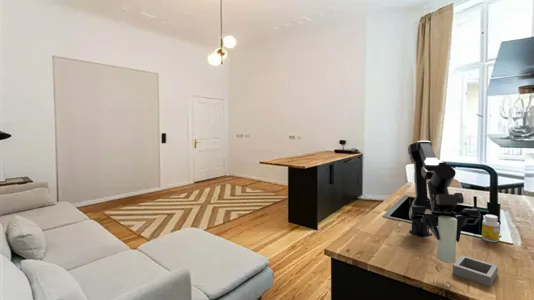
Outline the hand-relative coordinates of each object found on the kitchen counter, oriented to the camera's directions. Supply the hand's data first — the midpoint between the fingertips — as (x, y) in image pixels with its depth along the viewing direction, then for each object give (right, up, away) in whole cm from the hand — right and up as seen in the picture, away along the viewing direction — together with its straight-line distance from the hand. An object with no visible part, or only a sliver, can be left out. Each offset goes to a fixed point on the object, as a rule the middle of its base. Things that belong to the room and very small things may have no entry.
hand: (448, 240), depth 83 cm
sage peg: (+1, -6, +2) cm, 7 cm away
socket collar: (+11, -12, +3) cm, 16 cm away
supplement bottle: (+35, -9, +27) cm, 45 cm away
